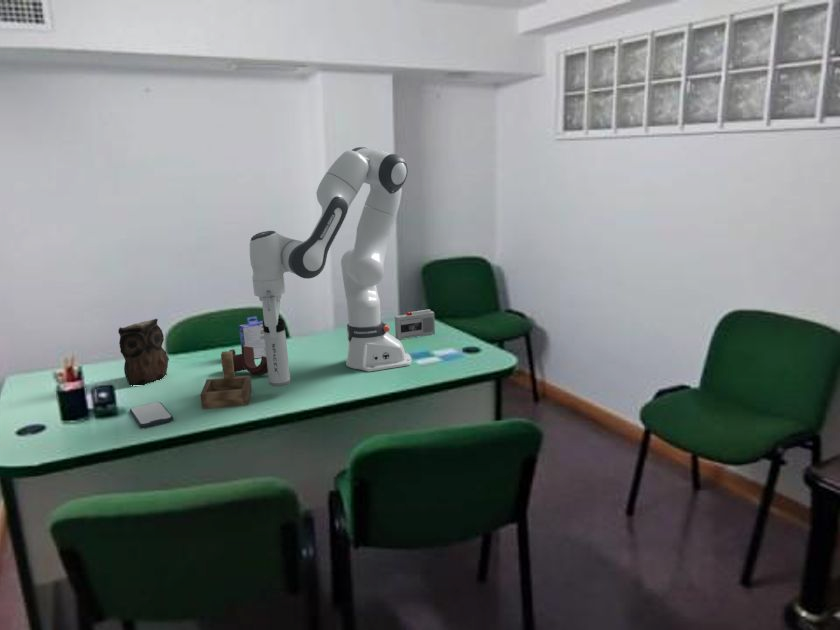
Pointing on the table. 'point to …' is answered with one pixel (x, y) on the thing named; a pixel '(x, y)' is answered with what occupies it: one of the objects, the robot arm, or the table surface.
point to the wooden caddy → (226, 387)
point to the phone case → (151, 415)
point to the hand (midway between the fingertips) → (274, 333)
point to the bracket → (249, 361)
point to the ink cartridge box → (253, 336)
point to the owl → (143, 352)
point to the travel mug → (277, 355)
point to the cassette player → (415, 324)
